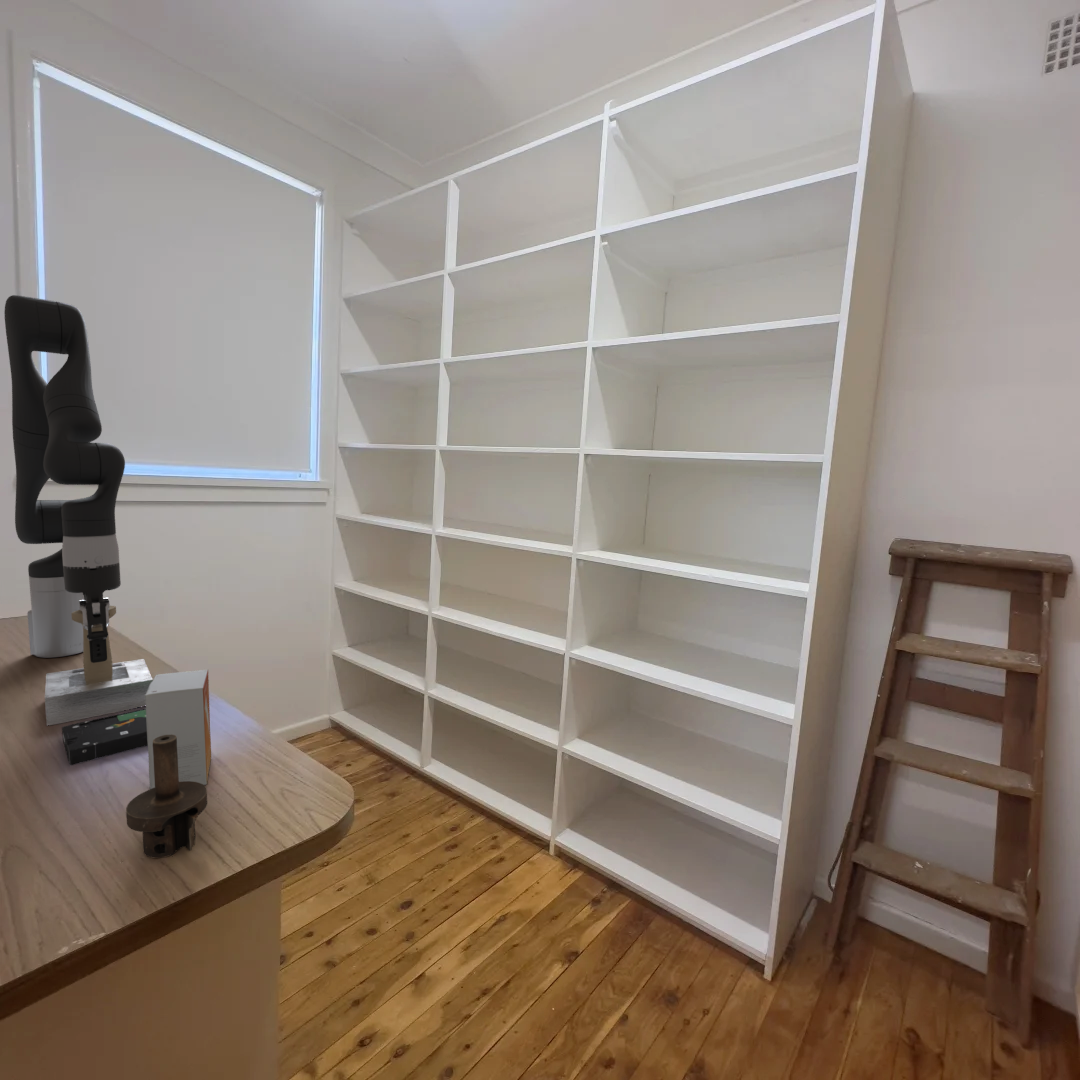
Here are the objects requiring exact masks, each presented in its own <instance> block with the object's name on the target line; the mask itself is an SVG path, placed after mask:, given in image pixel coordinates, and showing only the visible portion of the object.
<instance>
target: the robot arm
mask: <svg viewBox="0 0 1080 1080" xmlns="http://www.w3.org/2000/svg"><path fill="white" fill-rule="evenodd" d="M3 312H4V313H3V314H4V325H5V327H4V328H5V335H6V344H7V350H8V351H7V352H8V358H9V367H10V376H11V378H10V379H11V400H12V401H11V406H12V407H11V418H12V419H11V424H12V440H13V450H14V460H15V473H16V474H15V476H16V478H15V481H16V482H15V483H16V484H15V502H14V503H15V505H14V512H15V513H14V525H15V531H16V535H17V538H18V539H19V541H20V542H21V543H23V544H27V545H42V544H43V545H44V544H45V545H46V544H61V543H62V547H61V549H59V550H58V551H56V552H54V553H52V554H50V555H49V556H45V557H43V558H39V559H36V560H34V561H31V562H30V563H29V564H28V568H27V570H28V571H27V572H28V581H29V594H30V607H31V609H30V610H28V611H27V613H26V615H27V624H28V625H27V626H28V638H29V639H28V640H29V651H30V655H33V656H35V657H37V658H48V659H50V658H59V657H67V656H73V655H76V654H80V653H83V627H84V629H87V630H88V635H87V639H88V641H89V646H90V660H91V662H92V663H96V662H103V661H106V660H107V646H106V639H107V636H108V635H109V631H108V632H107V627H109V626H110V619H109V613H108V611H109V610H110V606H111V605H110V600H109V597H104V592H106V591H113V590H116V589H118V588H120V586H121V585H122V584H121V567H120V552H119V551H120V550H119V542H118V540H117V538H118V537H117V532H116V531H117V530H116V529H117V528H116V503H117V498H118V493H119V489H120V486H121V482H122V480H123V477H124V472H125V468H126V461H125V457H124V455H123V452H122V451H121V449H119V447H118V446H116V445H114V444H113V443H107V442H94V441H96V440H97V439H98V438H99V437H101V434H102V431H103V429H102V427H103V426H102V423H101V420H100V414H99V410H98V408H97V404H96V401H95V396H94V389H93V382H92V381H93V380H92V379H93V378H92V366H91V355H90V347H89V338H88V336H89V335H88V329H87V325H86V324H87V323H86V321H85V318H84V315H83V314H82V311H81V310H80V309H79V308H78V307H77V306H75V305H73V304H69V303H66V302H61V301H56V300H55V301H54V300H49V299H43V298H37V297H31V296H24V295H18V294H17V295H15V294H13V295H10V296H8V298H7V299H6V301H5V304H4V311H3ZM33 352H39V353H41V352H42V353H50V354H57V355H59V354H60V355H67V359H66V360H65V362H64V364H63V365H62V367H60V369H59V370H58V371H56V373H55V374H54V375H53V376H52V378H51V379H49V380H48V382H46V380H45V378H44V377H43V376H42V374H41V372H40V371H39V369H38V367H37V365H36V364H35V362H34V359H33V357H32V356H33V355H32V353H33ZM49 479H50V480H51V481H52V482H54V483H56V484H59V485H68V486H75V485H78V486H80V485H81V486H88V485H89V486H92V485H93V486H95V485H97V489H96V491H95V492H94V493H93V494H92V495H90V496H87V497H81V498H76V499H71V500H70V499H51V500H50V499H47V500H46V499H45V500H40V499H38V498H39V496H40V494H41V492H42V489H43V488H44V486H45V485H46V483H47V482H48V480H49ZM77 610H80V613H82V614H83V625H82V624H81V623H78V622H75V621H73V620H72V616H71V613H72V612H74V611H77ZM86 611H87V615H86ZM99 627H101V628H102V629H103V631H95V632H92V628H99Z"/></svg>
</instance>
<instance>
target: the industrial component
mask: <svg viewBox="0 0 1080 1080" xmlns="http://www.w3.org/2000/svg"><path fill="white" fill-rule="evenodd" d="M153 757H154V778H155V788H152V789H150V788H149V789H148V790H145V791H144V792H141V793H140V794H138V795H137V796H134V797H133V798H132V800H130V801H129V802H128V804H127V805H126V808H125V813H126V826H127V827H128V828H129V829H130V830H132V831H135V832H140V833H142V849H143V854H144V855H145V856H146V857H149V858H154V859H155V858H156V859H157V858H165V857H169V856H171V857H174V856H173V855H174V854H175V853H176V851H178V850H180V849H182V848H184V847H185V848H186V849H187V850H189V852H191V851H192V848H193V847H194V846H195V845H196V844H195V843H196V842H195V840H196V826H195V825H196V824H195V823H196V820H197V819H198V816H200V814H202V813H203V812H204V810H206V808H207V806H208V791H207V787H206V786H205V785H203V784H201V783H198V782H192V781H183V782H179V776H178V754H177V737H176V735H172V734H171V735H170V734H169V735H162V736H159V737H157V738H155V739H154V740H153Z"/></svg>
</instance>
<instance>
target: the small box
mask: <svg viewBox="0 0 1080 1080" xmlns="http://www.w3.org/2000/svg"><path fill="white" fill-rule="evenodd" d="M152 679H153V681H152V682H151V684H150V685H149V688H148V691H147V693H146V695H145V702H146V707H145V709H146V722H147V741H148V746H147V751H148V752H147V753H148V756H147V757H148V778H149V790H150V789H152V788H155V778H154V757H153V740H154V739H155V738H157V737H159V736H162V735H169V734H170V735H171V734H172V735H176V737H177V754H178V776H179V782H183V781H192V782H198V783H201V784H203V785H204V786H205V785H207V784H208V779H209V778H208V777H209V772H210V765H211V761H212V740H211V739H212V738H211V715H210V714H211V713H210V691H209V690H210V687H209V685H210V684H209V681H210V680H209V669H198V670H189V671H178V672H169V673H168V672H167V673H160V674H155V676H154V677H153V678H152Z"/></svg>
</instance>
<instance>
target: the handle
mask: <svg viewBox="0 0 1080 1080" xmlns="http://www.w3.org/2000/svg"><path fill="white" fill-rule="evenodd" d="M108 613H109V620H110V619H111V618H112V617H114V616H115V615H116V614H117V607H116V606H115V605H110V610H109V611H108ZM86 615H87V611H86ZM71 616H72V620H73V621H75V622H78V623H81V624H82V625H83V614H82V613H80V610H77V611H74V612H72V613H71ZM108 628H109V626H107V632H108V633H109V629H108ZM95 631H103V629H102V628H101V627H99V628H92V632H95ZM87 635H88V630H87V629H84V627H83V652H82V653H83V656H82V660H83V661H82V664H83V667H82V668H84V675H85V681H86V685H87V684H93V683H99V682H105V681H111V680H112V673H113V671H112V670H113V668H112V664H113V658H112V657H113V656H112V651H111V643H110V636H109V634H108V636H107V639H106V646H107V660H106V661H103V662H96V663H92V662H91V660H90V646H89V641H88V639H87Z"/></svg>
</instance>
